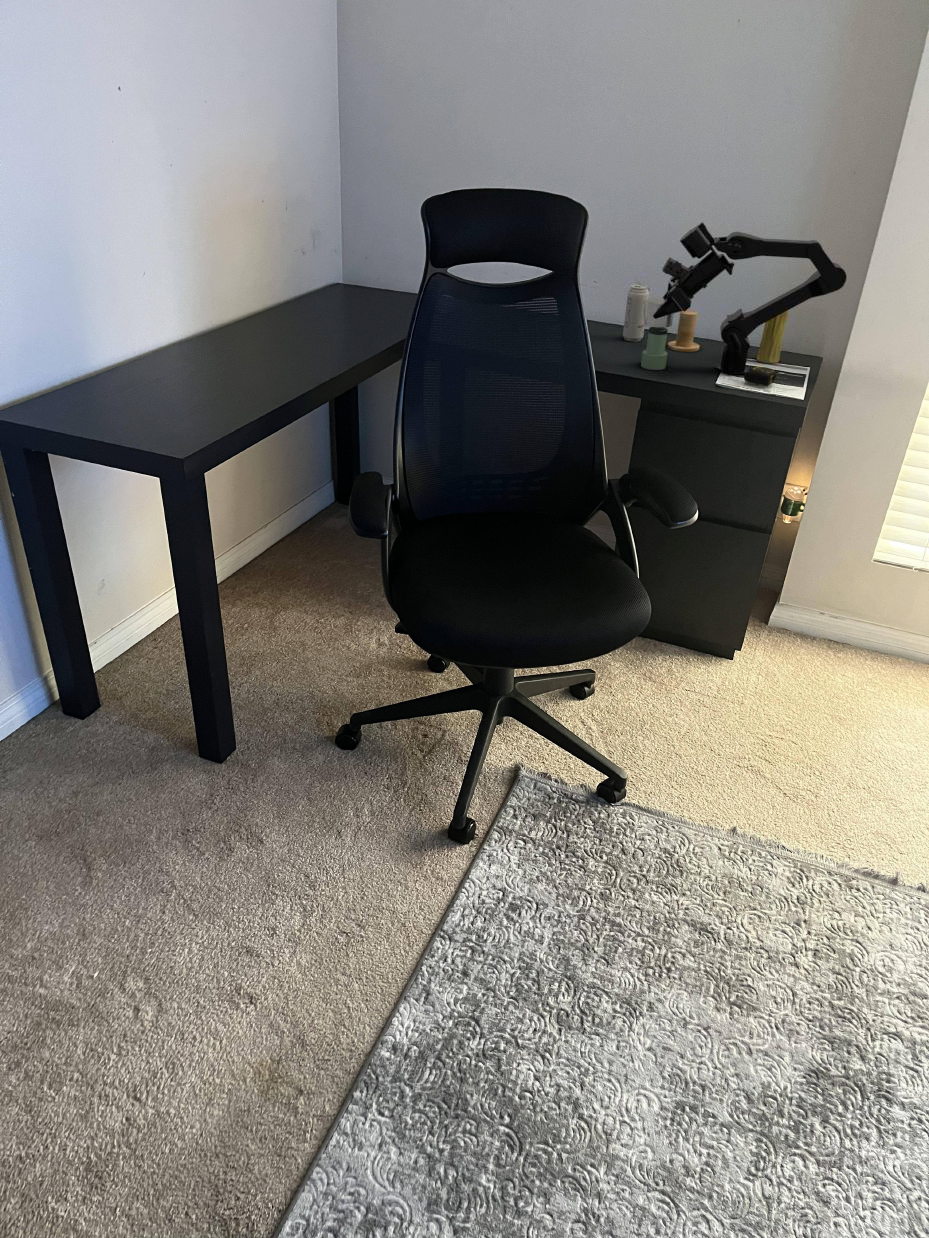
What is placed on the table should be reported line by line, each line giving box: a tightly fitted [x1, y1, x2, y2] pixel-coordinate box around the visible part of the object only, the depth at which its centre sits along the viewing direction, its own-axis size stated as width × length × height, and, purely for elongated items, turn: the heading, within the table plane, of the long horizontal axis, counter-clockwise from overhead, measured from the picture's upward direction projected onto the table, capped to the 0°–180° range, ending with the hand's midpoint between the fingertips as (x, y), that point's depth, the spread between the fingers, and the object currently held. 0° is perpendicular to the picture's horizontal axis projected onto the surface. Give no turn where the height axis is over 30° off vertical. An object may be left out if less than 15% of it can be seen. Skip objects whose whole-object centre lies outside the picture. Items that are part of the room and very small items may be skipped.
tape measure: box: [743, 366, 777, 387], centre depth 226 cm, size 7×7×4 cm
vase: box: [756, 310, 789, 364], centre depth 242 cm, size 6×6×14 cm
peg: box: [667, 309, 701, 353], centre depth 252 cm, size 9×9×10 cm
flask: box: [640, 326, 668, 371], centre depth 236 cm, size 7×7×10 cm
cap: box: [644, 297, 675, 328], centre depth 232 cm, size 7×7×6 cm
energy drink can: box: [622, 284, 650, 342], centre depth 257 cm, size 6×6×15 cm
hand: (654, 314), depth 232 cm, fingers closed on cap, 7 cm apart
